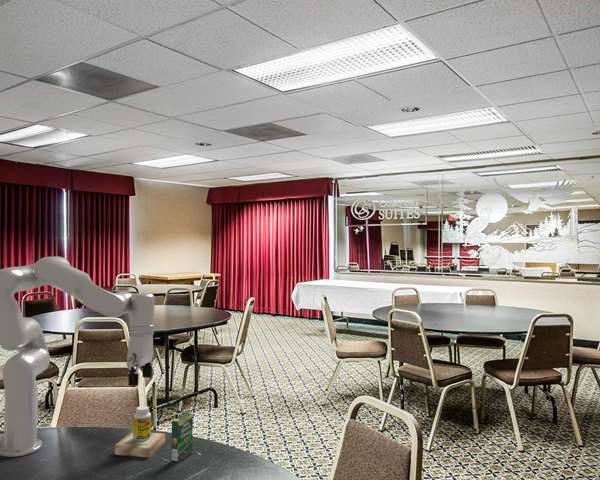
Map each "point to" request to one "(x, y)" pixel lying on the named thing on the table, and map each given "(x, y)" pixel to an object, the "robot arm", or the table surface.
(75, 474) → the table surface
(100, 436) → the table surface
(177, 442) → the coffee box
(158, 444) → the base
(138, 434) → the supplement bottle
